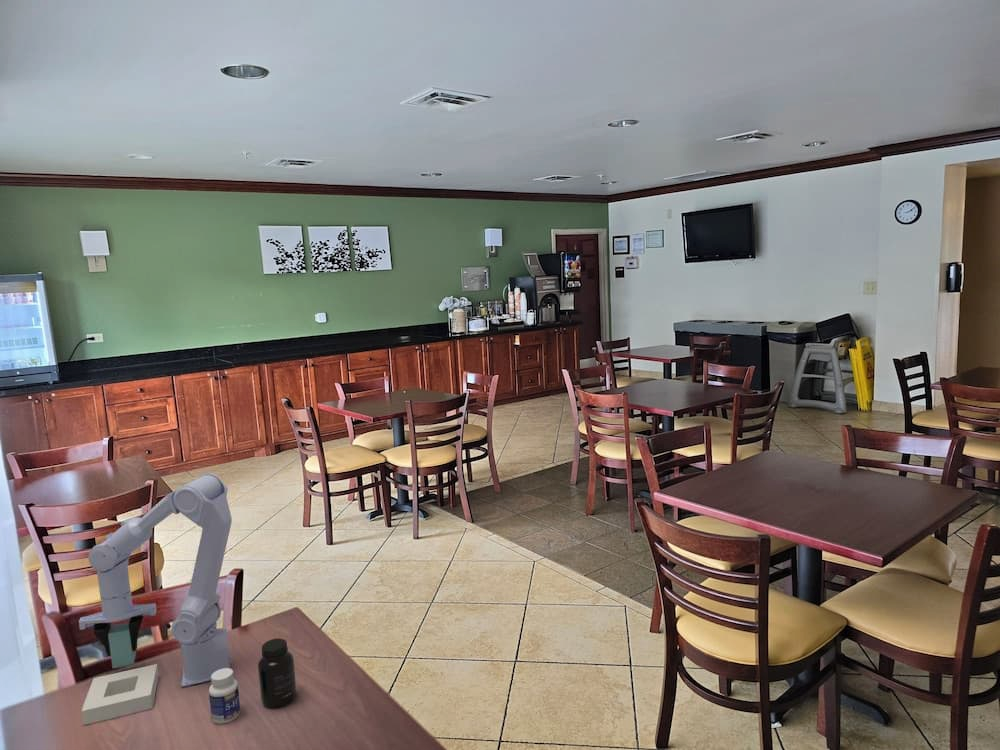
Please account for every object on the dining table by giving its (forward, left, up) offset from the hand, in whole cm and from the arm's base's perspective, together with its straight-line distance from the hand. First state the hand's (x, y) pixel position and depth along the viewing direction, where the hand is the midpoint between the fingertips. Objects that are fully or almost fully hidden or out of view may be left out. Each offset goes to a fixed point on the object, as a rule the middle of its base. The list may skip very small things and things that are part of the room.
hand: (123, 651), depth 145 cm
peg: (0, 0, -2) cm, 2 cm away
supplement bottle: (-31, +25, -5) cm, 40 cm away
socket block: (-1, +11, -5) cm, 12 cm away
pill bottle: (-21, +26, -5) cm, 34 cm away
